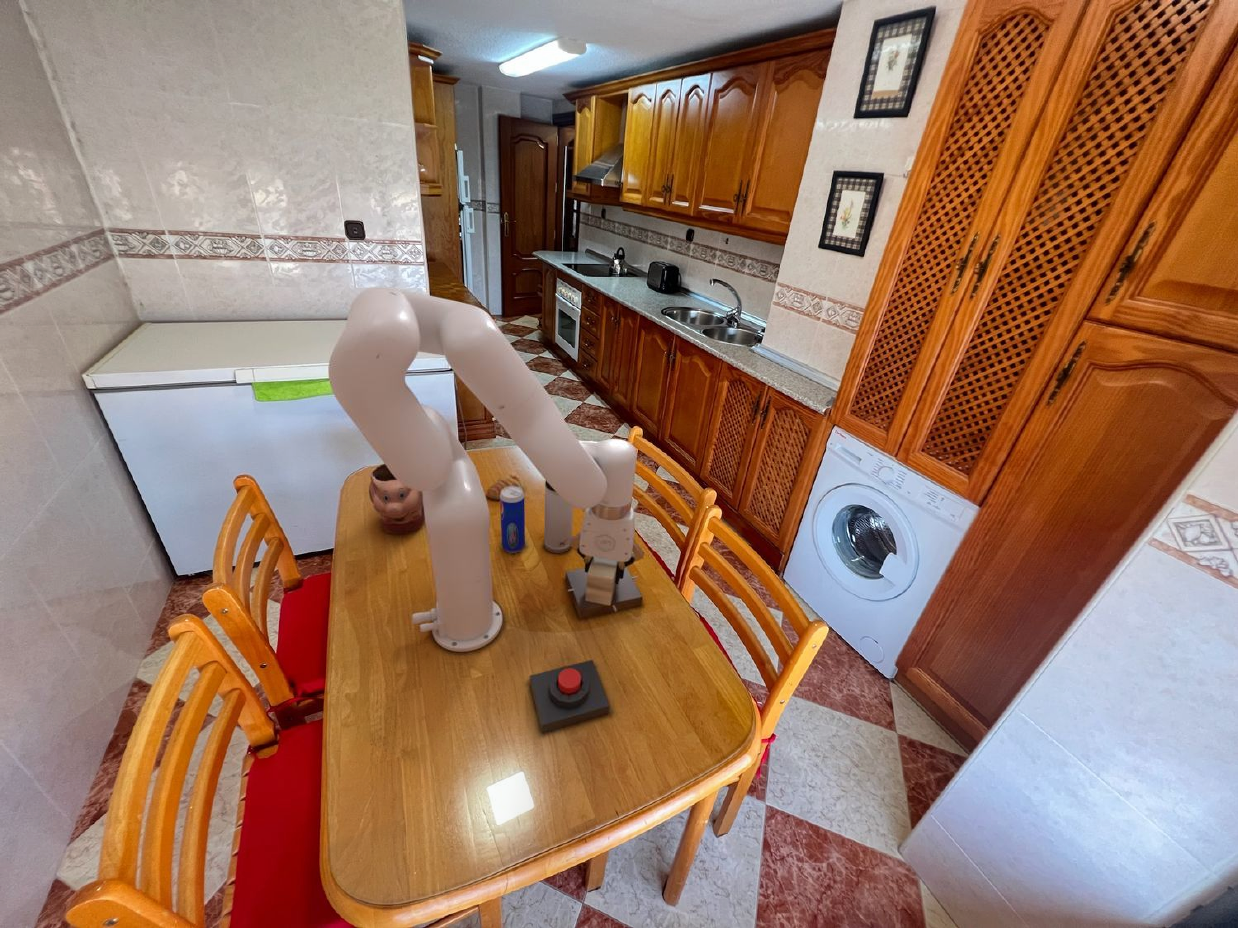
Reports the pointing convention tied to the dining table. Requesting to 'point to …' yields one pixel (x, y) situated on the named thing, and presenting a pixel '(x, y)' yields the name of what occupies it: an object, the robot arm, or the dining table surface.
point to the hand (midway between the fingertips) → (604, 576)
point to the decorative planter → (395, 502)
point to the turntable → (622, 599)
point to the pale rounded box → (601, 581)
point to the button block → (568, 697)
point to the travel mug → (557, 521)
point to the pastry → (503, 486)
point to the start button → (569, 681)
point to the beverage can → (512, 519)
